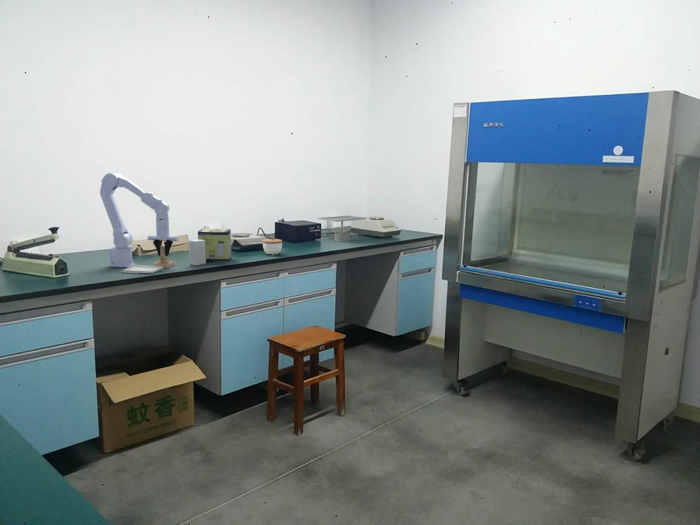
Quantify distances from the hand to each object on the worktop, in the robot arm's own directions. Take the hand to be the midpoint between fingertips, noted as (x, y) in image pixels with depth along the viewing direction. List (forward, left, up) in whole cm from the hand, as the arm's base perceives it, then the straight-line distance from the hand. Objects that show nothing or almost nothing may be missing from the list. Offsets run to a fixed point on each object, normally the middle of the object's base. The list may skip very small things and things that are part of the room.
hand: (163, 255), depth 269 cm
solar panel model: (+73, +108, -5) cm, 131 cm away
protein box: (+18, +21, -5) cm, 28 cm away
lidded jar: (+42, +46, -5) cm, 63 cm away
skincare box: (+14, +8, -5) cm, 17 cm away
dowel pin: (0, 0, -2) cm, 2 cm away
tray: (-4, -13, -5) cm, 15 cm away
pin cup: (0, 0, -5) cm, 5 cm away
